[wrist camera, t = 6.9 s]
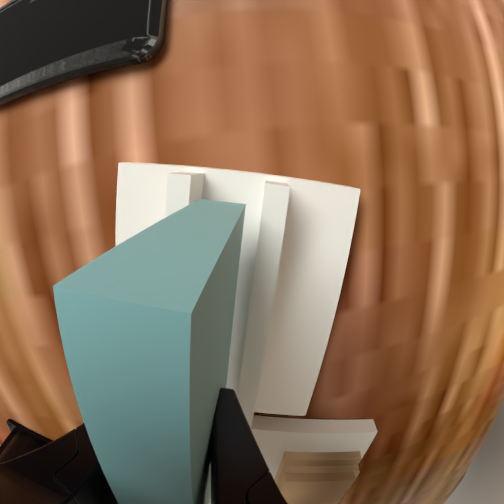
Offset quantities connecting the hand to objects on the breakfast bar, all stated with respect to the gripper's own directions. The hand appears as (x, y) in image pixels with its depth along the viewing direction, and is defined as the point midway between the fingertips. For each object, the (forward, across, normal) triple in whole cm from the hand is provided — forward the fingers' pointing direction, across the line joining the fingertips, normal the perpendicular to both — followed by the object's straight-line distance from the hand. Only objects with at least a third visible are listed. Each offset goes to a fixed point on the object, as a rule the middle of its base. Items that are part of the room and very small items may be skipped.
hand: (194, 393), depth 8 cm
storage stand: (+6, 0, 0) cm, 7 cm away
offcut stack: (+5, -7, +14) cm, 17 cm away
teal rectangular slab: (+3, 0, 0) cm, 3 cm away
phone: (+7, +12, -14) cm, 20 cm away
